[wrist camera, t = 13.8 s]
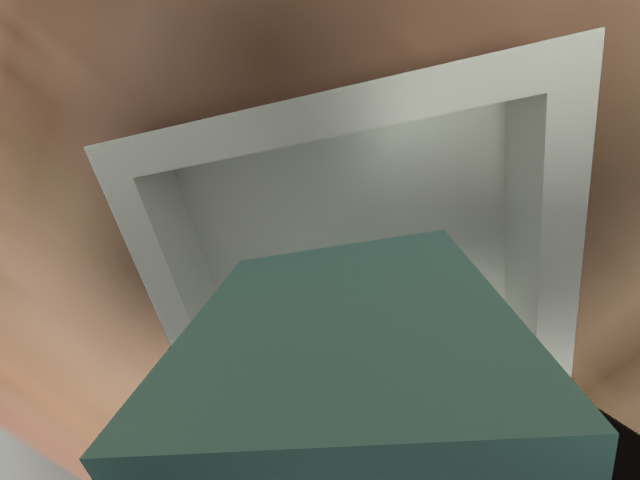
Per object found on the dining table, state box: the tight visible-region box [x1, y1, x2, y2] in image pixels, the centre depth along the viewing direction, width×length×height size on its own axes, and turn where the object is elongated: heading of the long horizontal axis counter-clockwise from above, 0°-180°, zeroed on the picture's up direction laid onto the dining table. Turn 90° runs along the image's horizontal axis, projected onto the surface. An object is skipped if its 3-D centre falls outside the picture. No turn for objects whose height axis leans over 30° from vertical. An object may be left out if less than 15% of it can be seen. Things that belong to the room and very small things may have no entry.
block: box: [79, 230, 619, 480], centre depth 6 cm, size 5×5×5 cm
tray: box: [83, 27, 605, 377], centre depth 10 cm, size 12×12×2 cm
